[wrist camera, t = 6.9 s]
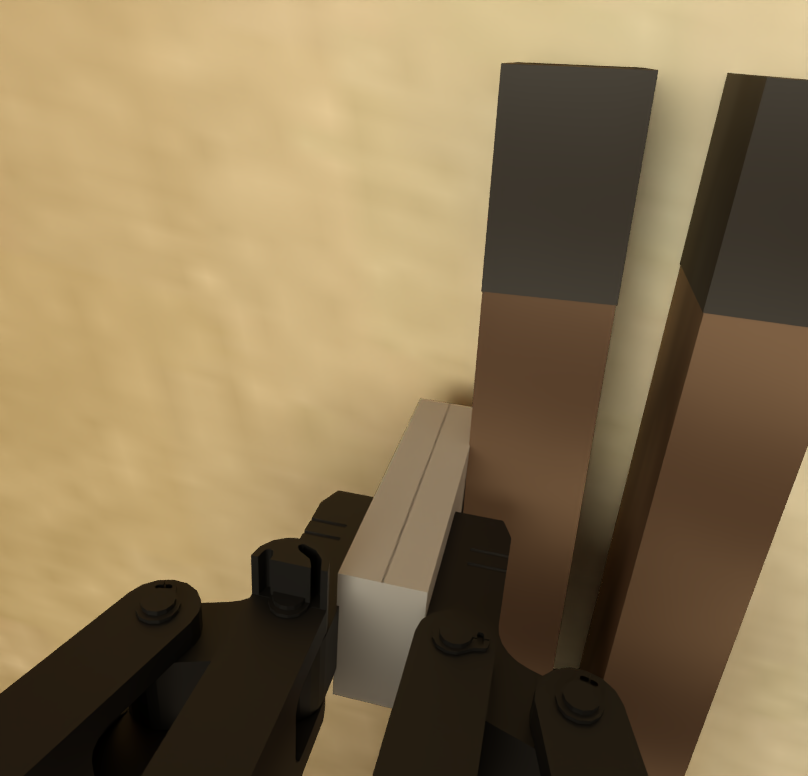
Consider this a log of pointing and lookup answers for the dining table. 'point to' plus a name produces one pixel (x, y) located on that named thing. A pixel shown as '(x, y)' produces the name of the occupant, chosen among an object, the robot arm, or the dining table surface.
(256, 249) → the dining table surface
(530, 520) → the bar
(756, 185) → the base
